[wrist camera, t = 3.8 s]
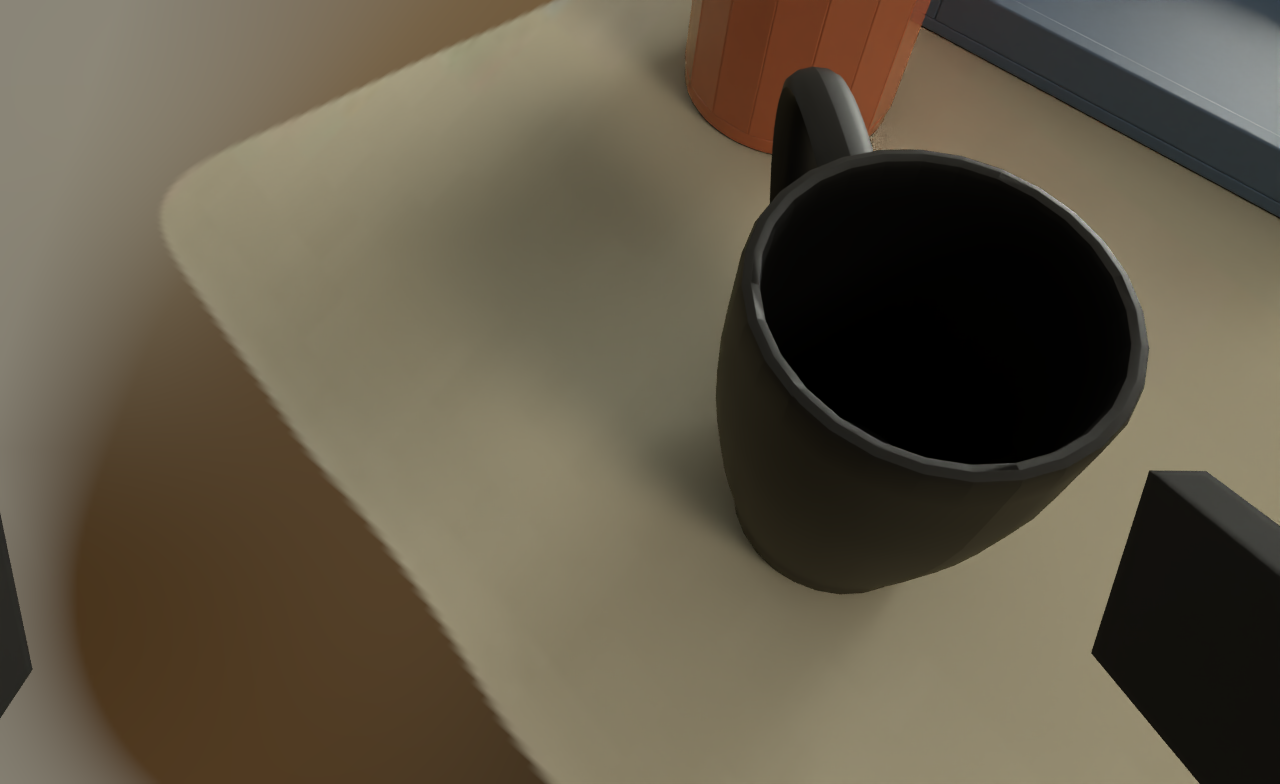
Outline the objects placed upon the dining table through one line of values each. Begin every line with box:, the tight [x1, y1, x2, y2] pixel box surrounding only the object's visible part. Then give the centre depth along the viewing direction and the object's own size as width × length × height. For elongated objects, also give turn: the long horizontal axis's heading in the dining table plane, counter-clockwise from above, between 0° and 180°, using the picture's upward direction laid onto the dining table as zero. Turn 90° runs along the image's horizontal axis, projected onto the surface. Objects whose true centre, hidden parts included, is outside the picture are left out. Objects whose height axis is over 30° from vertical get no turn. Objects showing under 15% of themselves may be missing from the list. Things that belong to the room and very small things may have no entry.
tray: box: [922, 0, 1280, 217], centre depth 38 cm, size 16×13×2 cm
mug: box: [716, 67, 1149, 594], centre depth 25 cm, size 8×12×10 cm
